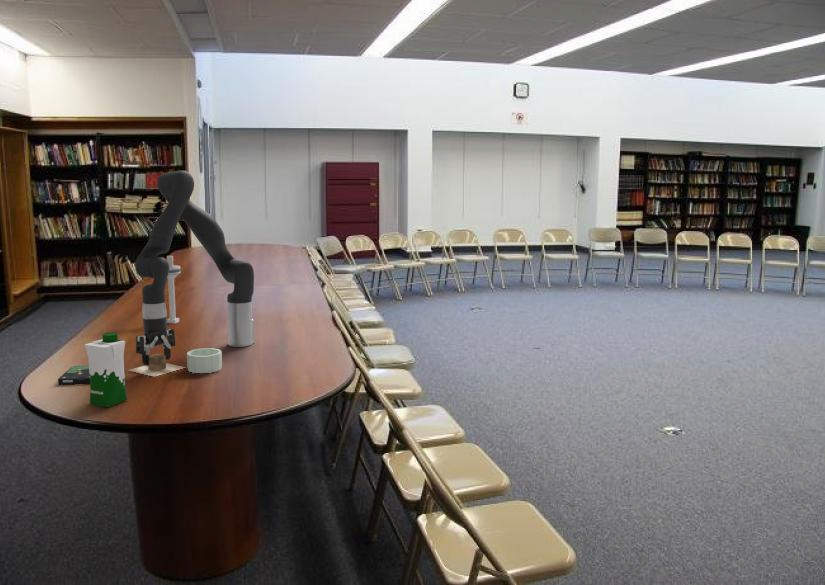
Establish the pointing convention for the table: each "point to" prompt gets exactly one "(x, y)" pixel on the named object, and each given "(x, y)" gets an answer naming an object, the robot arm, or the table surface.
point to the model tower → (172, 289)
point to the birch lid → (157, 366)
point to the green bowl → (204, 360)
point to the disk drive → (75, 376)
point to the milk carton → (106, 371)
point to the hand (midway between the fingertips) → (156, 362)
